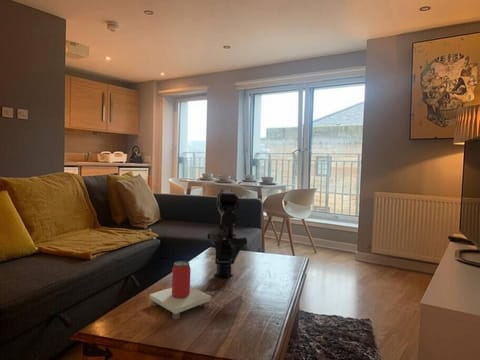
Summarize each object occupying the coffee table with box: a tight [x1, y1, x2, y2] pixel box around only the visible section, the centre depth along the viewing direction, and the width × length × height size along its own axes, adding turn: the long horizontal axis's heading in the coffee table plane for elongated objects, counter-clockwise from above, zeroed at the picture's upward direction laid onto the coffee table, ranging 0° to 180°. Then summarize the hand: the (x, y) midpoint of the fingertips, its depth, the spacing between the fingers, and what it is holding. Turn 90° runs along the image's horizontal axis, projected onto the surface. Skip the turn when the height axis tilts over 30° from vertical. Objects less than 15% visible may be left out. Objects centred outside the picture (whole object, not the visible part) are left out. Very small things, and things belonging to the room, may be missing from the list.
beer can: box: [171, 260, 192, 298], centre depth 121 cm, size 7×7×12 cm
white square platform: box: [148, 285, 212, 320], centre depth 122 cm, size 16×16×4 cm
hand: (225, 258), depth 140 cm, fingers open, 9 cm apart
